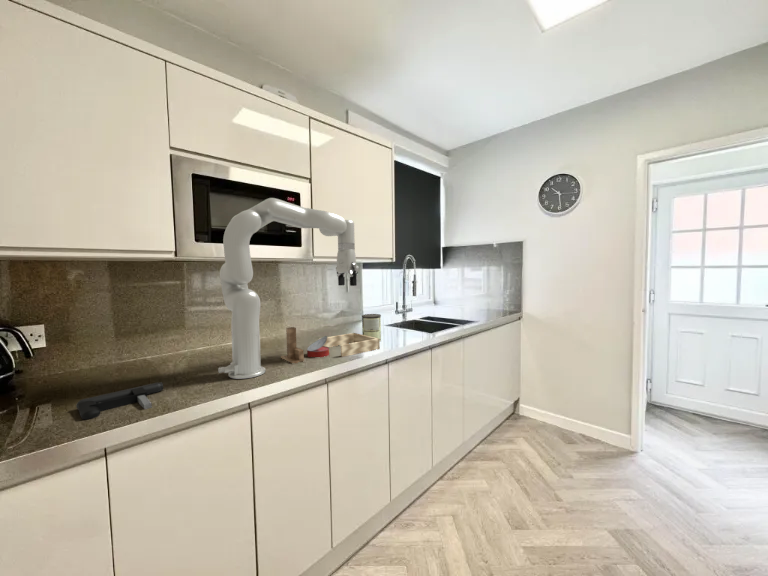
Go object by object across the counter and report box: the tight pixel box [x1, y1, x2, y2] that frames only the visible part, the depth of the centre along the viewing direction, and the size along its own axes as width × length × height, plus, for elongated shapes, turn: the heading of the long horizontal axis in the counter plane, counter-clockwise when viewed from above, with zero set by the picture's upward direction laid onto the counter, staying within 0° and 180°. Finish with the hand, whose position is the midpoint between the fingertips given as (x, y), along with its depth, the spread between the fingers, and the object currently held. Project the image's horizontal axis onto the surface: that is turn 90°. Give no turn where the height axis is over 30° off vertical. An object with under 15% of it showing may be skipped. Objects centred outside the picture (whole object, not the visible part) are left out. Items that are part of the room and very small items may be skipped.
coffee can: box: [361, 313, 382, 342], centre depth 173 cm, size 10×10×14 cm
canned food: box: [306, 335, 330, 358], centre depth 145 cm, size 11×10×10 cm
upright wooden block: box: [280, 326, 305, 364], centre depth 137 cm, size 5×12×14 cm, turn 40°
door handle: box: [75, 381, 164, 421], centre depth 92 cm, size 3×20×16 cm
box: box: [318, 332, 381, 357], centre depth 156 cm, size 21×21×5 cm
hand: (347, 285), depth 146 cm, fingers open, 9 cm apart
